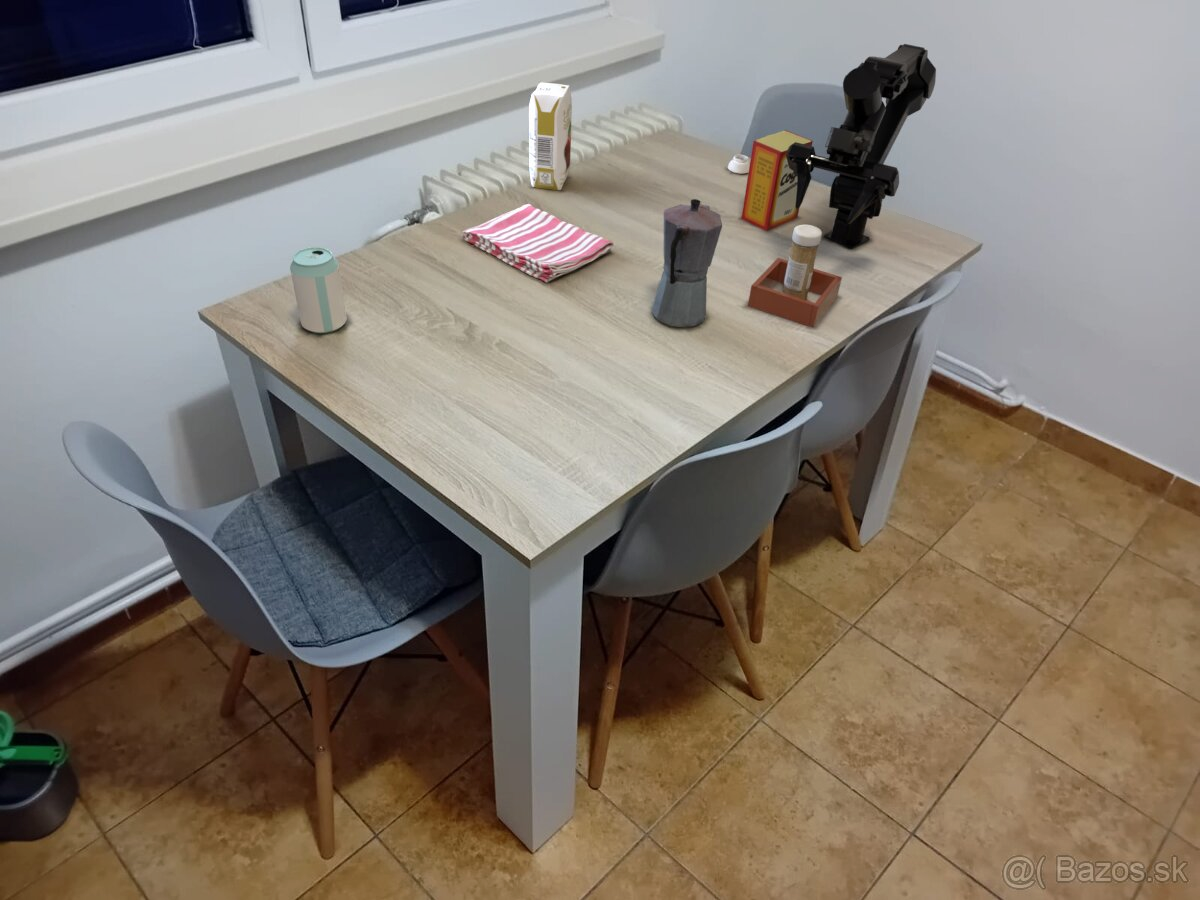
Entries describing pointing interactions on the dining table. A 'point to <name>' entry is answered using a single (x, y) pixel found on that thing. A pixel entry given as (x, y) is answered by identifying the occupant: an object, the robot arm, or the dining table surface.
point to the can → (318, 290)
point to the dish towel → (537, 242)
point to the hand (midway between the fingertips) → (822, 215)
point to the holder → (793, 305)
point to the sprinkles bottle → (801, 260)
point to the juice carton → (550, 135)
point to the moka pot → (686, 263)
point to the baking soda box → (771, 182)
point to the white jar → (739, 164)
